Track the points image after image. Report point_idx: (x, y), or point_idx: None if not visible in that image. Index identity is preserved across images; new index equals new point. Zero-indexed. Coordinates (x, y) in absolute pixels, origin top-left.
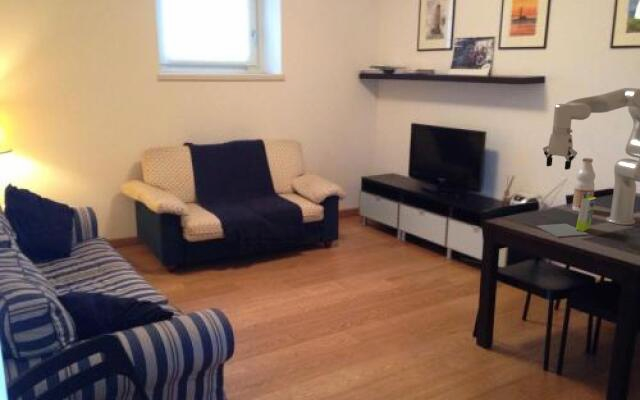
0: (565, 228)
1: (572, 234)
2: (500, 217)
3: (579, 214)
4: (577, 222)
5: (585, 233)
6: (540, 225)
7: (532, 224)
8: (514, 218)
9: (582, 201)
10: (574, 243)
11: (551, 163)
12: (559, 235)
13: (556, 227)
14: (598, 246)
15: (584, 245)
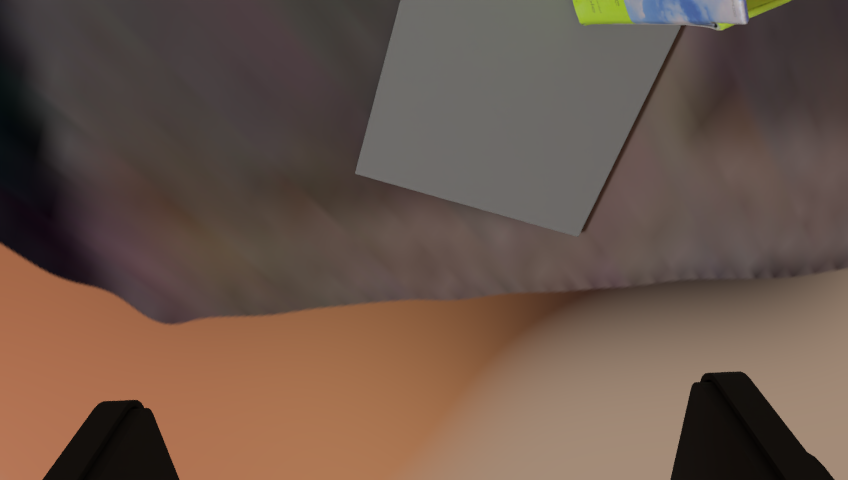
0: (506, 52)
1: (616, 129)
2: (81, 209)
3: (633, 23)
4: (601, 23)
5: (664, 27)
6: (366, 149)
7: (302, 150)
8: (130, 145)
9: (706, 26)
10: (697, 237)
11: (122, 471)
12: (576, 216)
13: (455, 89)
14: (822, 166)
15: (753, 219)
